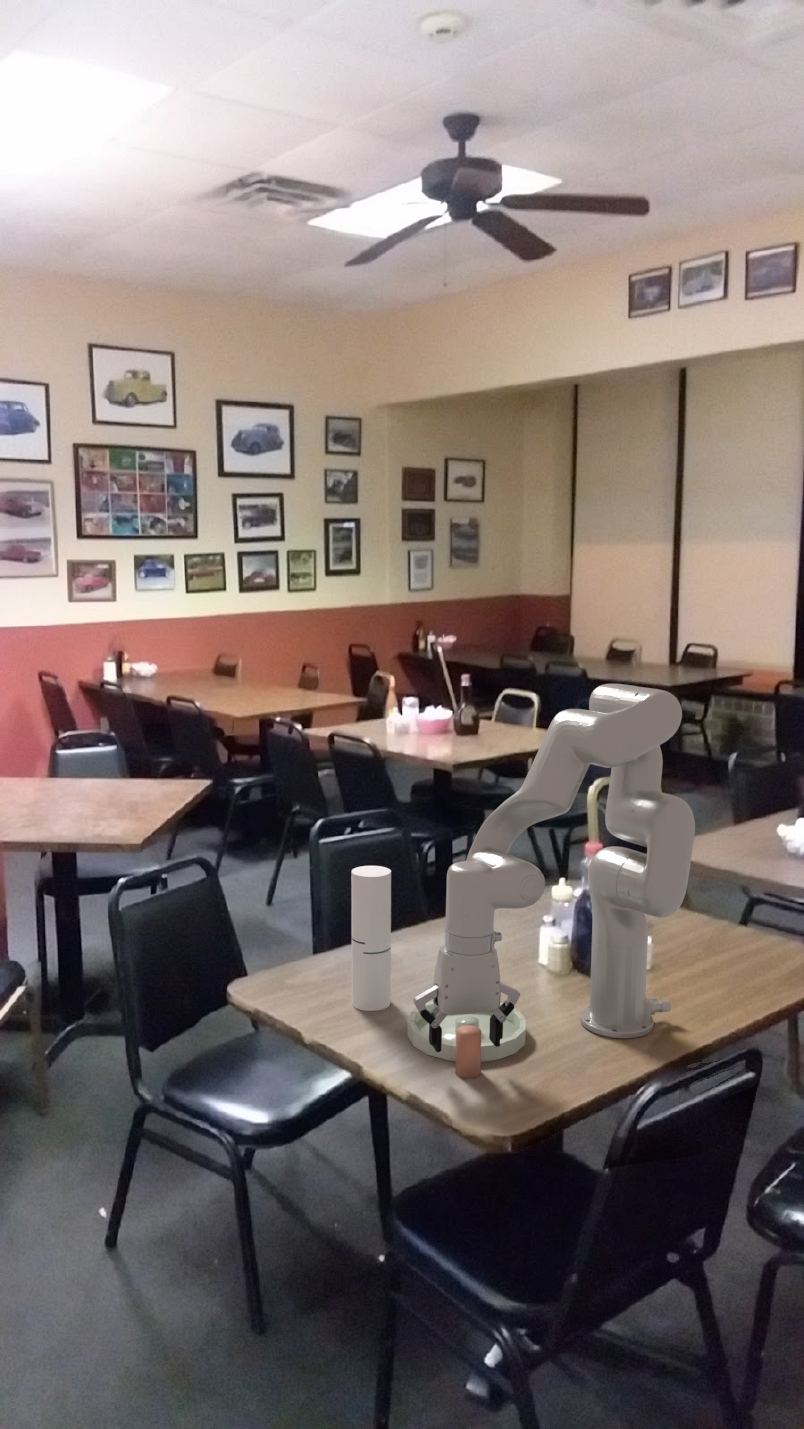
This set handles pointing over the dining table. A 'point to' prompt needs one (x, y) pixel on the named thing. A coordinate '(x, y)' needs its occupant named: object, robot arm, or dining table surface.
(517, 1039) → the groove tray
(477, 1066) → the orange cylinder
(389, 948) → the cylindrical container
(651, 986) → the dining table surface
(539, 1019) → the dining table surface
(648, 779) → the robot arm
